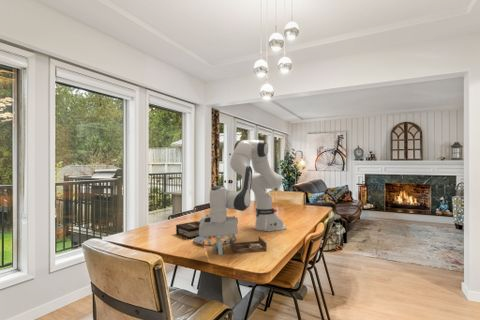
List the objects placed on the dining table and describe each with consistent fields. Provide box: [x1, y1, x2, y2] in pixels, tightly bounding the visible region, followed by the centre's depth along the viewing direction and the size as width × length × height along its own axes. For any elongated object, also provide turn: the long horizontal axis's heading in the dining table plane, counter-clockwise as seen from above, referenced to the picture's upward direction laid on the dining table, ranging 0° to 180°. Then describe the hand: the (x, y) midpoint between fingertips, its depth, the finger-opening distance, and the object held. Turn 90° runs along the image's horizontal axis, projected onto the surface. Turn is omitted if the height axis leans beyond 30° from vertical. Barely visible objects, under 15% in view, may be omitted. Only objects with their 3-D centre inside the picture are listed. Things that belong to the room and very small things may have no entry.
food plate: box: [193, 235, 237, 246], centre depth 163 cm, size 25×23×4 cm
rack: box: [229, 236, 267, 255], centre depth 145 cm, size 17×12×5 cm
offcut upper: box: [250, 244, 261, 248], centre depth 144 cm, size 4×3×1 cm
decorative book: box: [175, 219, 202, 240], centre depth 183 cm, size 19×8×30 cm
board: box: [215, 236, 223, 256], centre depth 141 cm, size 11×2×7 cm, turn 12°
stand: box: [212, 244, 226, 255], centre depth 142 cm, size 7×8×4 cm
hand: (218, 244), depth 142 cm, fingers open, 8 cm apart
